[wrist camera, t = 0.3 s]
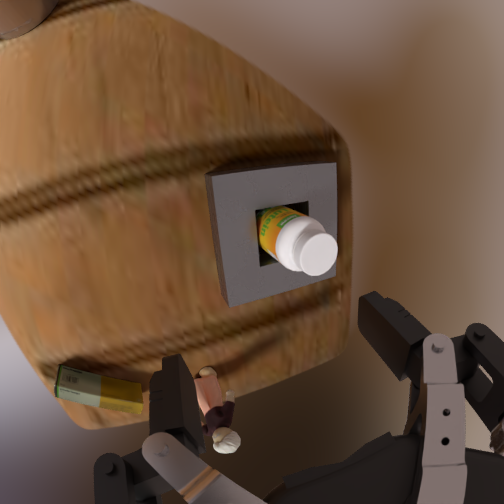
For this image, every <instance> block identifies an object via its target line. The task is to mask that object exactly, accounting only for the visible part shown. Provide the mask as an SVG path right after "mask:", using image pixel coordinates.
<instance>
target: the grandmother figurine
mask: <svg viewBox="0 0 504 504" xmlns="http://www.w3.org/2000/svg"><path fill="white" fill-rule="evenodd" d="M199 374H200V376H201V377H202V378H197V379H194V382H195V386H196V392H197V399H198V403H199V405H200V407H201V409H202V411H203V413H204V417H205V419H206V423H207V424H206V425H205V424H204V423H202V422H201V425H202V431H203V434H204V435H207V436H213V440H214V442H215V443H214V444H213V447H214V449H215V450H216V451H217V452H219V453H233V452H234V451H236V449H237V448H238V447H239V446H240V440H241V439H240V437H239V436H238V434H237V433H236V432H234V431H232V430H231V429H229V426H230V425H231V422H232V417H233V411H234V406H235V403H234V391H233V390H228V391H227V392H226V395H227V397H226V402H225V404H223V402H222V395H221V389H220V386H219V384H218V381H217V378H216V376H217V373H216V372H215V371H214V370H213V369H212V368H211V367H204V368H203V369H201V370H200V372H199Z"/></svg>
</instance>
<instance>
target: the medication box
mask: <svg viewBox="0 0 504 504" xmlns="http://www.w3.org/2000/svg"><path fill="white" fill-rule="evenodd" d="M54 393H55V397H57V398H61V399H65V400H69V401H73V402H77V403H81V404H85V405H90V406H95V407H100V408H105V409H110V410H116V411H122V412H128V413H135V414H141V412H142V409H143V397H142V388H141V383H136V382H130V381H125V380H120V379H116V378H111V377H106V376H102V375H98V374H93V373H89V372H86V371H82V370H78V369H74V368H71V367H67V366H64V365H60V364H59V365H58V369H57V375H56V380H55V386H54Z"/></svg>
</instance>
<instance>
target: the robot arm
mask: <svg viewBox="0 0 504 504" xmlns="http://www.w3.org/2000/svg"><path fill="white" fill-rule="evenodd" d="M58 1H59V0H0V38H1V39H12V38H15V37H18V36H21V35H23V34H25V33H27V32H28V31H30V30H31V29H33V28H34V27H36V26H37V25H38V24H39V23H41V22H42V21H43V20H44V19H45V18H46V17H47V16H48V15H49V14H50V13H51V11H52V10H53V9H54V8H55V6H56V4H57V3H58ZM358 327H359V330H360V332H361V334H362V335H363V336H364V338H365V339H366V340H367V341H368V342H369V344H370V345H371V346H372V347H373V349H374V350H375V351H376V352H377V353H378V355H379V356H380V357H381V358H382V360H383V361H384V362H385V363H386V364H387V366H388V367H389V368H390V369H391V371H392V372H393V373H394V374H395V376H396V377H397V378H398V380H399V381H402V380H404V379H405V378H407V377H409V378H410V380H411V382H410V389H409V403H408V414H407V421H406V425H405V428H404V431H403V435H397V436H392V435H391V433H390V432H387V433H386V434H384V435H382V436H380V437H378V438H376V439H374V440H372V441H371V442H368V443H366V444H365V445H364V446H363V447H361V448H360V449H359V450H357V451H356V452H355V453H354V454H352V455H351V456H350V457H348V458H347V459H346V460H344V461H343V462H340V463H336V464H330V465H324V466H319V467H311V468H308V469H305V470H302V471H300V472H297V473H294V474H291V475H288V476H284V477H283V480H284V482H283V483H282V484H280V485H278V486H277V487H275V488H274V489H273V490H272V491H270V492H269V493H268V494H267V495H266V496H265V498H264V499H263V500H261V499H259V498H257V497H256V496H254V495H252V494H251V493H249V492H248V491H246V490H244V489H243V488H241V487H240V486H238V485H237V484H235V483H234V482H232V481H231V480H230V479H228V478H227V477H225V476H224V475H222V474H221V473H220V472H218V471H217V470H215V469H213V468H211V467H209V466H208V465H207V464H206V463H205V462H203V461H202V460H201V459H199V454H200V453H205V452H206V448H205V443H204V437H203V431H202V425H201V419H200V412H199V406H198V399H197V392H196V386H195V382H194V379H193V377H192V375H191V373H190V371H189V369H188V367H187V366H186V364H185V362H184V360H183V358H182V356H181V355H180V354H175V355H171V356H167V357H163V358H162V370H161V371H156V372H154V374H153V376H152V378H151V380H150V394H149V401H150V403H149V422H150V434H149V437H148V438H147V439H146V440H145V442H144V443H143V446H142V448H141V449H139V450H137V451H135V452H133V453H130V454H128V455H126V456H123V457H120V456H119V455H117V454H114V453H106V454H103V455H102V456H100V457H99V458H98V459H97V461H96V462H95V465H94V494H95V504H162V499H161V494H162V493H165V492H168V491H170V490H172V489H176V490H177V491H178V492H179V493H180V494H181V495H182V497H183V498H184V499H185V500H186V501H187V502H188V503H189V504H504V342H503V341H502V340H501V339H500V338H499V337H498V336H497V335H496V334H495V333H494V332H492V331H491V330H490V329H489V328H488V327H487V326H486V325H484V324H481V323H473V324H471V325H469V326H468V328H467V329H466V332H465V335H461V336H458V337H454V338H449V337H447V336H446V335H443V334H437V333H436V334H432V333H430V332H429V331H428V330H427V329H426V328H425V327H424V326H423V325H422V324H421V323H420V322H419V321H418V320H417V319H416V318H414V316H412V315H410V313H409V312H408V311H407V310H405V308H404V307H403V306H401V305H400V304H399V303H398V302H397V301H394V300H392V299H390V298H388V297H387V298H385V299H384V298H383V297H382V296H381V295H380V294H379V293H378V292H376V291H373V292H370V293H368V294H366V295H363V296H361V297H360V298H359V306H358ZM479 365H481V366H482V367H483V368H484V369H485V370H486V372H487V373H488V374H489V375H490V376H491V377H492V380H493V383H492V382H491V381H490V380H489V379H488V378H487V376H486V375H485V374H484V373H483V372H482V371H481V369H480V368H479ZM465 398H466V400H467V401H468V402H469V404H470V405H471V406H472V408H473V409H474V410H475V412H476V413H477V414H478V416H479V417H480V418H481V420H482V421H483V423H484V424H485V425H486V426H487V428H488V430H489V431H490V432H491V436H490V439H491V442H490V445H489V446H490V449H491V450H493V451H494V453H492V452H486V451H481V450H476V449H471V448H466V447H465Z"/></svg>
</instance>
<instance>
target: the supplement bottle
mask: <svg viewBox="0 0 504 504" xmlns="http://www.w3.org/2000/svg"><path fill="white" fill-rule="evenodd" d="M256 228H257V240H258V245H259V246H260V247H261V248H262V249H264V250H265V251H266V252H267V253H269V254H270V255H271V256H272V257H274V258H275V259H276V260H277V261H279V262H280V263H281V264H282V265H283V266H285V267H286V268H288V269H290V270H293V271H303V272H305V273H306V274H308V275H311V276H318V275H321V274H323V273H325V272H327V271H328V270H329V269H330V268H331V267H332V265H333V264H334V262H335V260H336V257H337V252H338V247H337V243H336V241H335V239H334V238H333V237H332V236H331V235H330V234H328V233H326V232H325V229H324V227H323V226H322V225H321V224H320V223H319V222H318V221H317V220H315V219H313V218H311V217H309V216H307V215H304V214H302V213H300V212H297V211H295V210H293V209H290V208H288V207H286V206H283V205H280V206H275V207H269V208H263V209H261V210H260V211H259V212H258V213H257V214H256Z"/></svg>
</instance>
